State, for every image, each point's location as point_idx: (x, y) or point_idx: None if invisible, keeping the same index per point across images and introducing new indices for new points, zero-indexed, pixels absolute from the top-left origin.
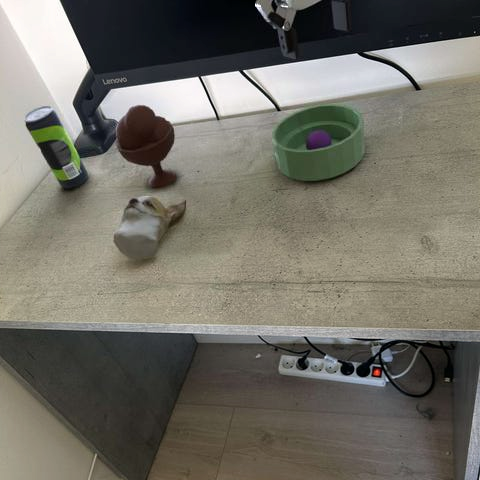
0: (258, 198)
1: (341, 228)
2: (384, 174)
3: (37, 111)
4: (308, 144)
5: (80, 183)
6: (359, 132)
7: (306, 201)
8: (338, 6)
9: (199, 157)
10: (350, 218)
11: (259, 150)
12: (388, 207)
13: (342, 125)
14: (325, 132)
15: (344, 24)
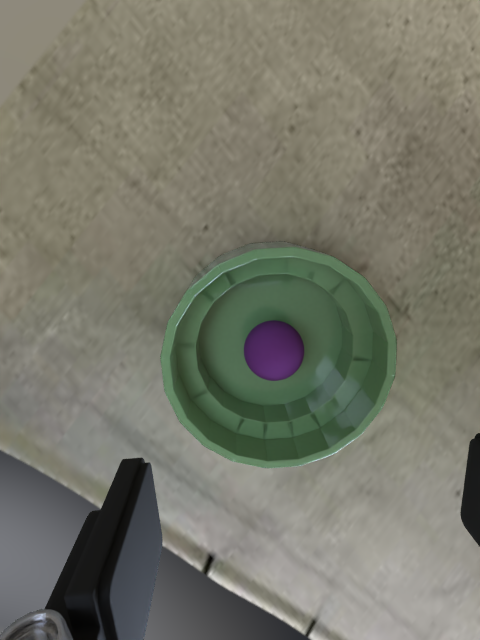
0: (445, 317)
1: (410, 83)
2: (219, 175)
3: None
4: (303, 354)
5: None
6: (223, 261)
7: (391, 228)
8: (129, 616)
9: (424, 534)
10: (374, 98)
11: (332, 463)
12: (296, 63)
13: (194, 363)
14: (257, 352)
15: (145, 496)
